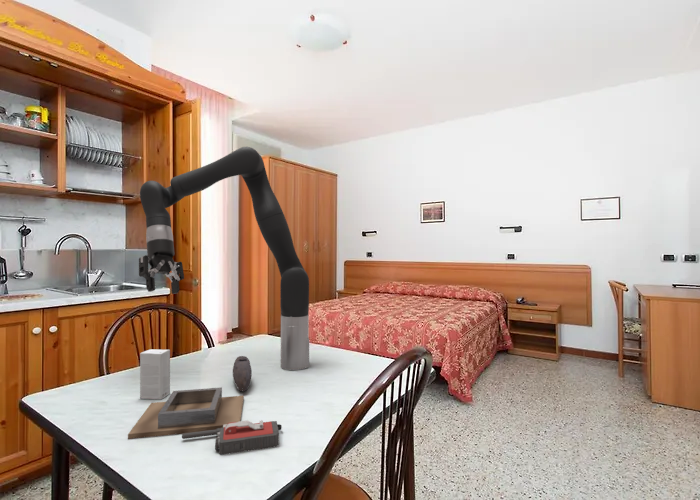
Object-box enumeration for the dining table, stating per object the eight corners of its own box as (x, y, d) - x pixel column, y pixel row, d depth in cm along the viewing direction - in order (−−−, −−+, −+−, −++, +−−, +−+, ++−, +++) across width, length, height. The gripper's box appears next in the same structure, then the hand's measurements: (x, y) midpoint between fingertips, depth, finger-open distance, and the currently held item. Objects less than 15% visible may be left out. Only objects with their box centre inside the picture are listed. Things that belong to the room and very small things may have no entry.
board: (243, 399, 97) (243, 395, 97) (239, 428, 81) (239, 423, 81) (151, 406, 92) (151, 402, 92) (127, 438, 76) (128, 434, 76)
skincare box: (170, 393, 100) (170, 349, 100) (161, 400, 96) (161, 353, 96) (149, 392, 101) (149, 348, 101) (139, 399, 97) (139, 353, 97)
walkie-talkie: (280, 427, 82) (182, 440, 77) (280, 407, 82) (182, 419, 77) (285, 447, 74) (175, 463, 68) (285, 425, 74) (175, 439, 68)
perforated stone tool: (252, 395, 100) (252, 369, 100) (232, 397, 98) (232, 371, 98) (250, 376, 114) (250, 354, 114) (232, 378, 113) (233, 355, 113)
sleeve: (221, 399, 94) (221, 387, 94) (214, 423, 81) (214, 409, 81) (173, 403, 92) (173, 390, 92) (157, 428, 79) (158, 414, 79)
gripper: (148, 233, 109) (152, 287, 104) (187, 242, 122) (191, 290, 117) (130, 241, 111) (133, 293, 107) (170, 249, 124) (174, 296, 120)
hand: (163, 292), depth 112 cm, fingers open, 8 cm apart
